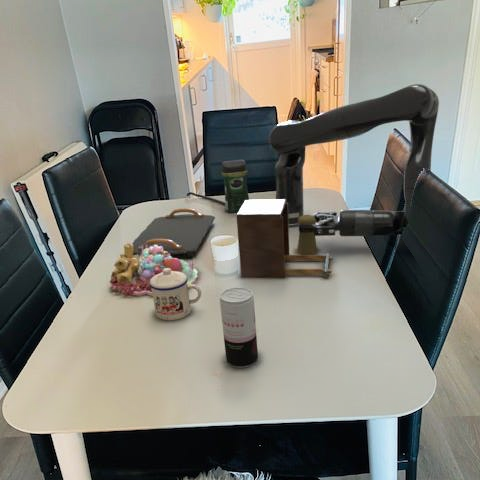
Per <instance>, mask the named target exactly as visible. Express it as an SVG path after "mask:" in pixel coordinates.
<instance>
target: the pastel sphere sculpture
mask: <svg viewBox="0 0 480 480" xmlns="http://www.w3.org/2000/svg"><path fill="white" fill-rule="evenodd" d="M123 251H124V253H121V254H119V258H118V259H117V260H116V261H115V262H114V265H113V266H114V267H115V268H114V269H113V271H111V272H112V273H111V275H110V280H109V283H110V285H109V288H110V290H114V291H113V294H114V293H118V292H119V291H122V293H121V296H133V295H134V296H143V295H148V296H151V297H153V294H152V289H151V287H150V280H151V279H152V277H154V276H155V275H157V274H160V273H162V272H163V269H164V268H170V269H171V271H177V272H181V273H184V274H185V275H186V276H187V279H188V281H187V284H194V285H195V283H196V281H197V280H198V279H199V276H198V275H199V271H198V270H197V269H196V268H195V267H194V263H193V261H192V262H191V261H190V262H189V264H188V263H187V262H186V261H185V260H184V259H179V258H177V257H173V256H172V255H170V254H169V253H168V252H167V251H164V250H163V247H162V246H159V247H158V246H157V245H153V246H151V245H150V247H149V248H147V244H146V249H144V250H143V245H142V254H140V255H138V254H137V255H133V251H134V249H133V244H132V243H126V244H124V245H123ZM189 289H190V288H188V290H189Z"/></svg>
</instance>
